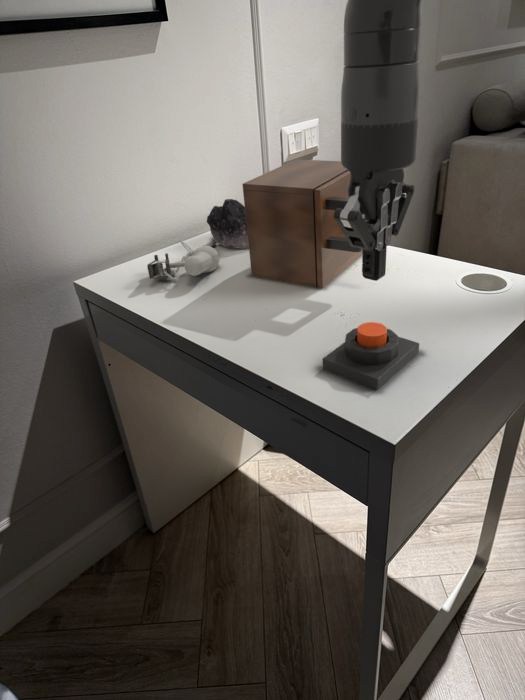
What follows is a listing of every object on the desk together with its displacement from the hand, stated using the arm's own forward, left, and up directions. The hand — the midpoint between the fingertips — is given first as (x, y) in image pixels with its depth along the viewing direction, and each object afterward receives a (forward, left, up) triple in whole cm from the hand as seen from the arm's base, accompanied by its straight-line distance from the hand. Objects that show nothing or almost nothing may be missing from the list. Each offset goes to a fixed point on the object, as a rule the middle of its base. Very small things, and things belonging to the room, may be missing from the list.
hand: (373, 277), depth 60 cm
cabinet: (+4, -35, -12) cm, 38 cm away
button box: (0, 0, -12) cm, 12 cm away
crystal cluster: (+16, -53, -13) cm, 57 cm away
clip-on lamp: (+26, -38, -13) cm, 48 cm away
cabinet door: (-4, -29, -12) cm, 32 cm away
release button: (0, 0, -9) cm, 9 cm away
